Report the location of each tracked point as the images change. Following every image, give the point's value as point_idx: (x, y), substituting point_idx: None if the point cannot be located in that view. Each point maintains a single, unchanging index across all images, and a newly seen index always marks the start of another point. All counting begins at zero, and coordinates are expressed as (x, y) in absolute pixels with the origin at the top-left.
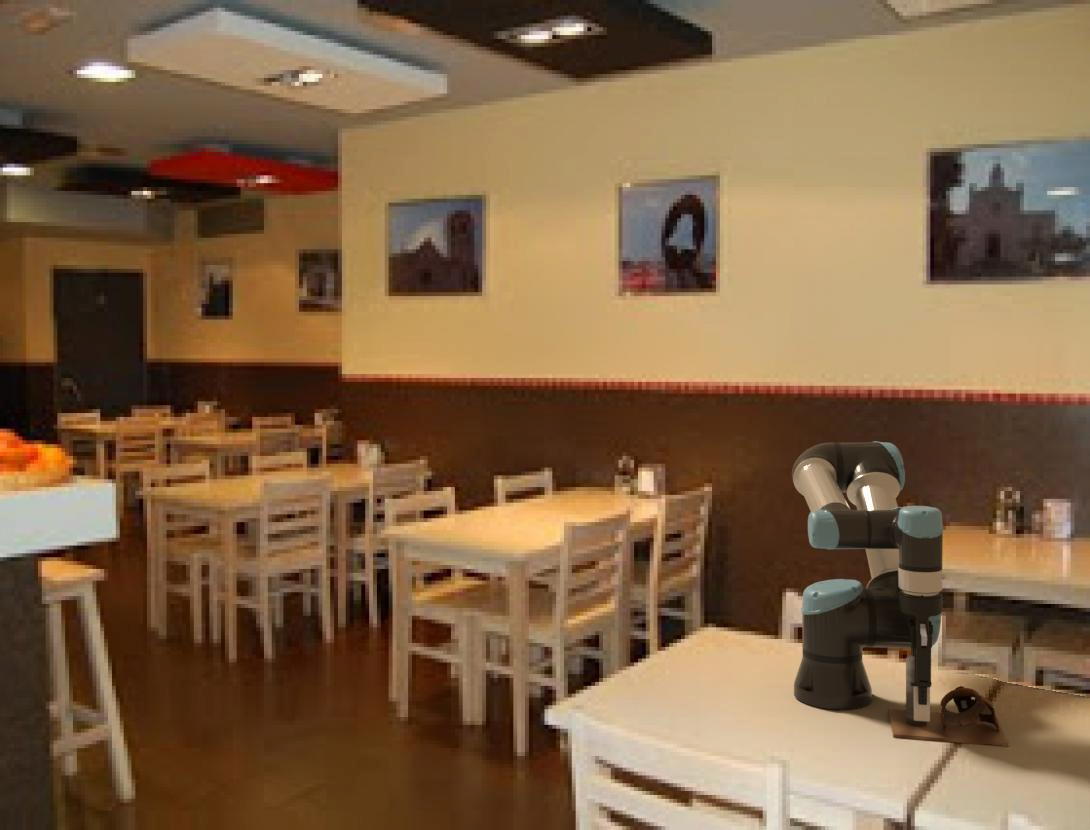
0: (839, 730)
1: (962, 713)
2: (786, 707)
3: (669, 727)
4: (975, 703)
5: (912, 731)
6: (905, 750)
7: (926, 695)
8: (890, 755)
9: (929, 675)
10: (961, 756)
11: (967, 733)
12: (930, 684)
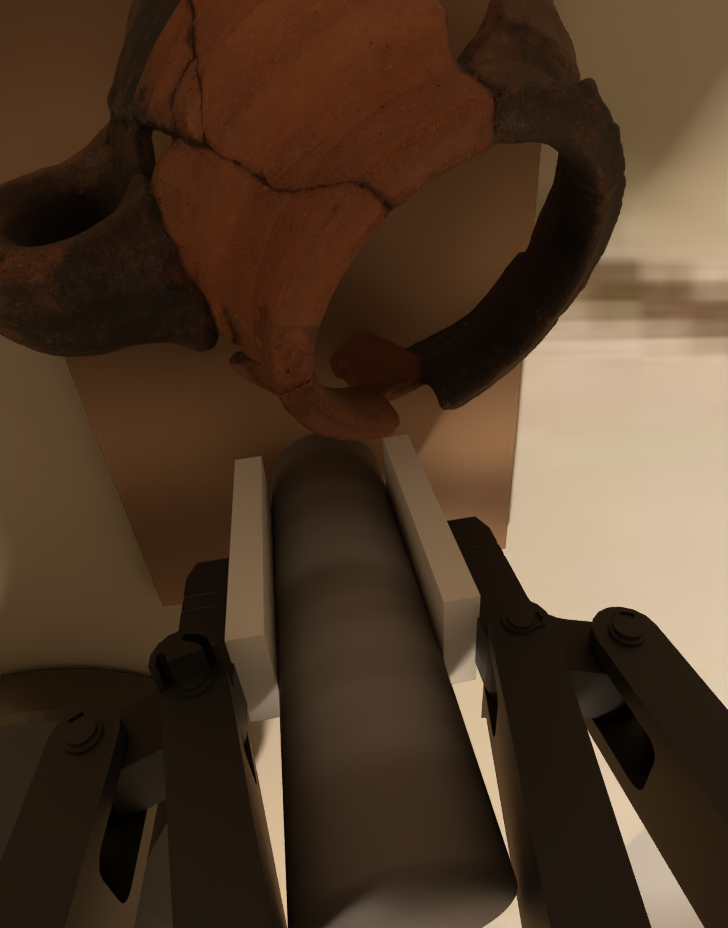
0: (454, 685)
1: (584, 273)
2: (280, 824)
3: (512, 907)
4: (591, 160)
5: (455, 484)
6: (631, 482)
7: (509, 567)
8: (681, 523)
9: (717, 715)
10: (706, 238)
11: (418, 194)
12: (657, 630)
